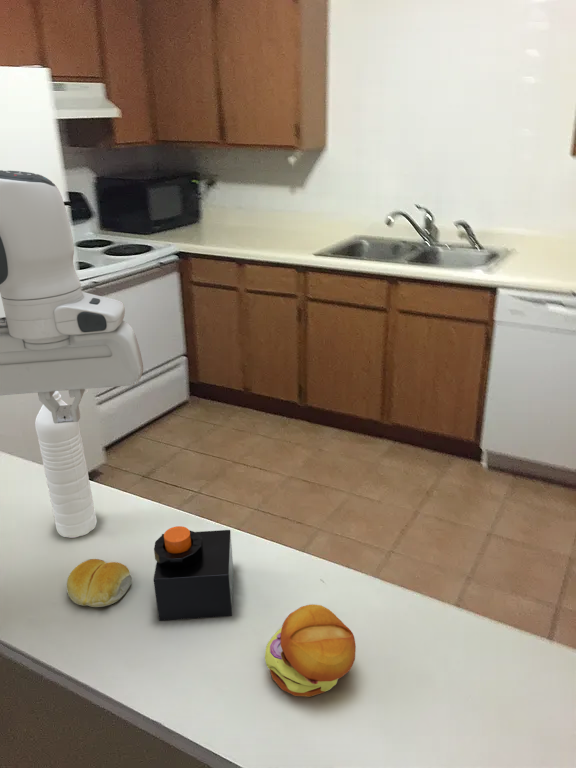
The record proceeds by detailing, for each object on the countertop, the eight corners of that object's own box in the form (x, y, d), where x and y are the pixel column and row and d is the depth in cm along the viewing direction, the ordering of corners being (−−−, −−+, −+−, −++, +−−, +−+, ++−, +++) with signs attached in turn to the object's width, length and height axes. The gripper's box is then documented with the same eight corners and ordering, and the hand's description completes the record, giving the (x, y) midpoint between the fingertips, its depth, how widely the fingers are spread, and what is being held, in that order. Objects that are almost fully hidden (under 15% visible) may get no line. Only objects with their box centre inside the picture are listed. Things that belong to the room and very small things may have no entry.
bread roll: (87, 567, 103) (83, 545, 101) (139, 577, 100) (136, 555, 98) (55, 603, 95) (50, 581, 94) (110, 615, 93) (106, 592, 91)
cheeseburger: (297, 624, 90) (310, 573, 85) (361, 676, 85) (380, 625, 80) (246, 670, 83) (258, 618, 78) (313, 730, 78) (330, 679, 73)
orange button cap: (163, 555, 91) (162, 542, 90) (166, 538, 94) (165, 526, 93) (190, 553, 91) (188, 541, 90) (192, 537, 94) (191, 525, 94)
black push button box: (157, 621, 92) (149, 568, 88) (165, 573, 101) (158, 523, 97) (232, 616, 92) (227, 563, 88) (233, 568, 101) (229, 519, 97)
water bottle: (58, 542, 108) (29, 403, 98) (55, 521, 114) (27, 387, 104) (113, 529, 111) (90, 392, 101) (107, 508, 117) (85, 377, 107)
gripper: (-55, 329, 75) (-27, 439, 80) (128, 315, 76) (145, 425, 81) (-34, 313, 81) (-9, 417, 86) (136, 301, 82) (151, 404, 87)
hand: (67, 420), depth 84 cm, fingers closed
